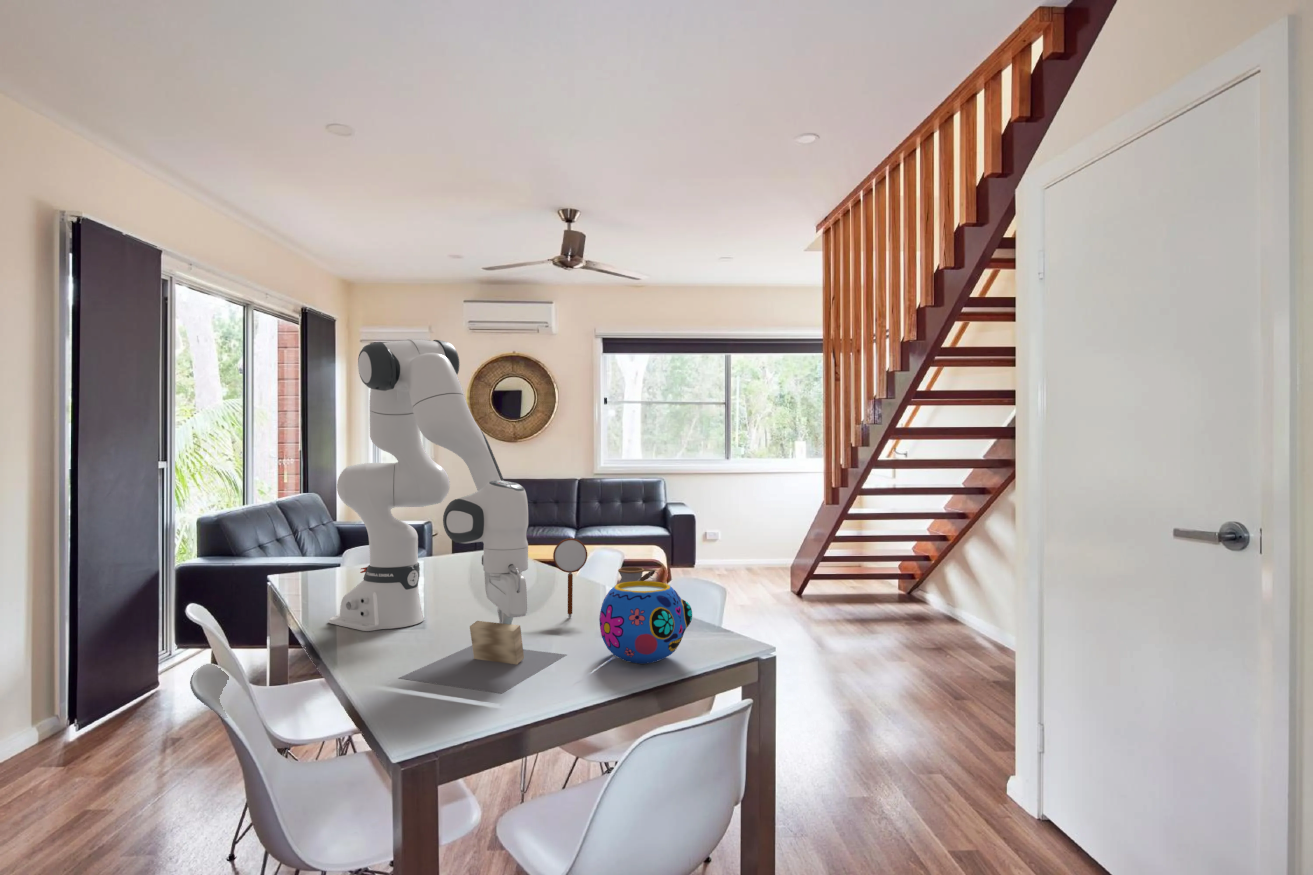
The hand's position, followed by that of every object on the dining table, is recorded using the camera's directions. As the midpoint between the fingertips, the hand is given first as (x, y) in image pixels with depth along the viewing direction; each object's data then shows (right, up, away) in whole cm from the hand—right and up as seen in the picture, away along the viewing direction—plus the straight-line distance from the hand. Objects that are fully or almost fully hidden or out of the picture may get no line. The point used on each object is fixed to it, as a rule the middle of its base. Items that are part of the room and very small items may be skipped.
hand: (505, 630), depth 139 cm
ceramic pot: (+28, -6, 0) cm, 28 cm away
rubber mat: (-2, -6, -6) cm, 8 cm away
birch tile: (-1, -5, -2) cm, 5 cm away
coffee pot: (+26, -7, +28) cm, 39 cm away
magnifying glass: (+9, -7, +35) cm, 37 cm away
